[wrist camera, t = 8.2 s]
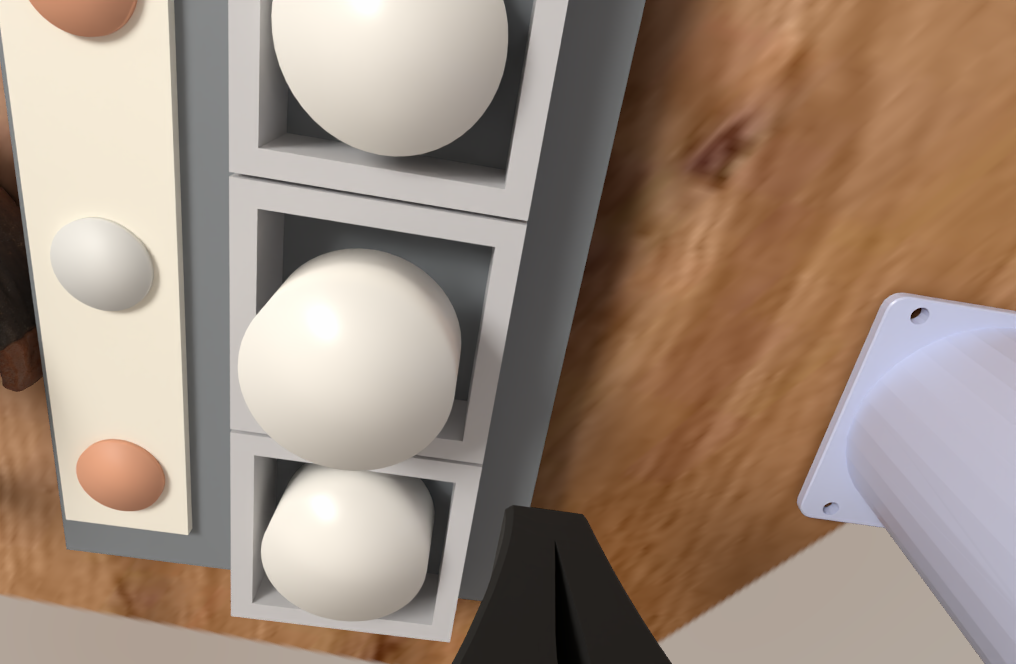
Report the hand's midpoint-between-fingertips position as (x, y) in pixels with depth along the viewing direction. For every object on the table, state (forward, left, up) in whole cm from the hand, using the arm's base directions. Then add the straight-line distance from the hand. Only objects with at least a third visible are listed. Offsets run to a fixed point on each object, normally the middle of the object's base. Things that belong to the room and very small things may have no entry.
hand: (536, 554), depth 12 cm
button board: (+6, -1, -9) cm, 11 cm away
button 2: (+4, +5, -7) cm, 10 cm away
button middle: (+4, -1, -5) cm, 7 cm away
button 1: (+4, -7, -7) cm, 11 cm away
